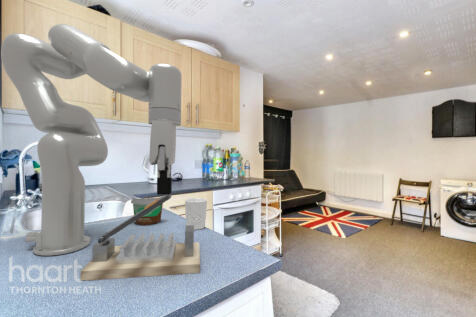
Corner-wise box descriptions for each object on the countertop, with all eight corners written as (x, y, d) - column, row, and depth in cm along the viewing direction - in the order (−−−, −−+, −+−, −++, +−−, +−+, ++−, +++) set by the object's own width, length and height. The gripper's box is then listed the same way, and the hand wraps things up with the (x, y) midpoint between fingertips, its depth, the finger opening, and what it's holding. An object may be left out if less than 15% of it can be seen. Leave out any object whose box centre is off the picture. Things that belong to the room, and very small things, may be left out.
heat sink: (87, 266, 49) (88, 238, 49) (104, 249, 58) (104, 225, 58) (193, 260, 53) (193, 234, 53) (193, 245, 62) (194, 222, 62)
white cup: (207, 224, 88) (208, 198, 88) (205, 230, 80) (205, 202, 80) (186, 223, 88) (187, 197, 88) (182, 230, 80) (183, 201, 80)
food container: (127, 227, 82) (128, 199, 82) (130, 222, 88) (131, 196, 88) (164, 225, 85) (164, 198, 85) (164, 220, 91) (165, 195, 91)
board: (80, 280, 47) (80, 271, 47) (105, 254, 60) (105, 246, 60) (199, 272, 51) (199, 263, 51) (199, 249, 64) (199, 242, 64)
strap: (99, 244, 52) (95, 238, 51) (106, 238, 56) (103, 233, 55) (170, 199, 54) (166, 193, 54) (172, 196, 58) (168, 191, 58)
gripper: (154, 122, 62) (153, 190, 63) (141, 111, 48) (140, 200, 48) (182, 123, 64) (182, 189, 64) (178, 113, 49) (177, 199, 49)
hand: (164, 193), depth 56 cm, fingers closed
